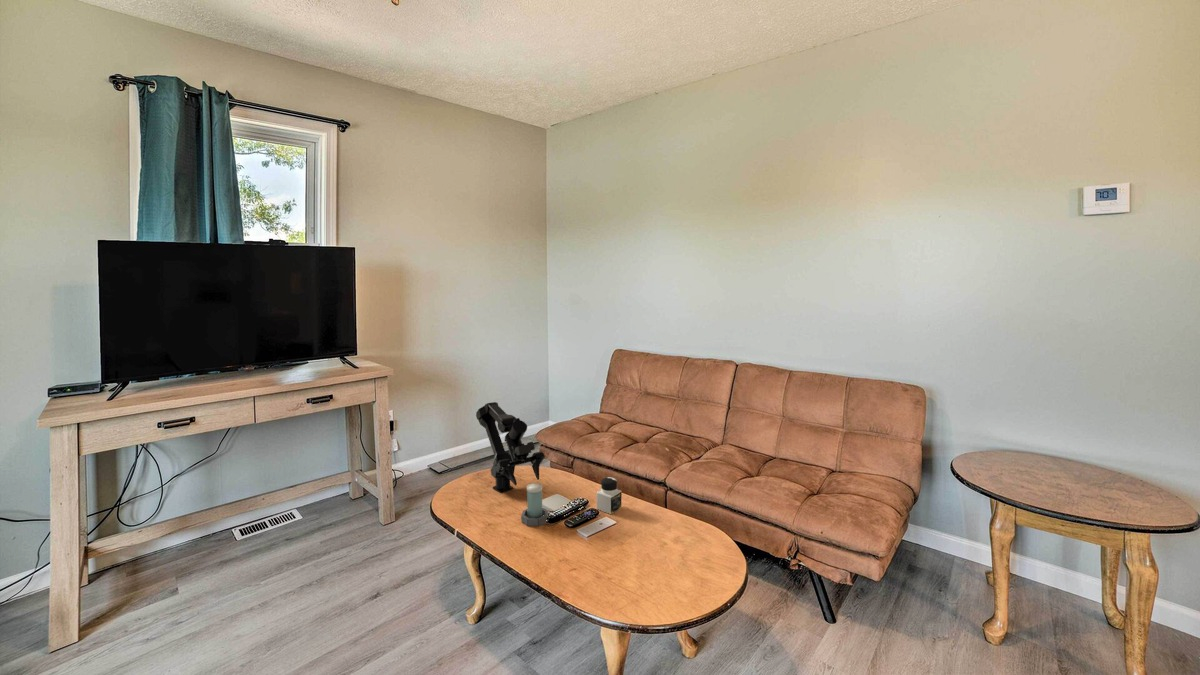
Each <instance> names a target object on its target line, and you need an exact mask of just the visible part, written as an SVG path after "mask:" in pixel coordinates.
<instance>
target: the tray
mask: <svg viewBox="0 0 1200 675" xmlns="http://www.w3.org/2000/svg"><path fill="white" fill-rule="evenodd" d="M570 501H572V500H570V499H568V498H567V497H565V496H562V495H561V494H559V493H556V494H553V495H551V496H548V497H546V498H542V508H544V509H546V510H548V512H550V511H555V510H556V509H557V508H559V507H561V506H563V505H566V504H568V503H569V502H570ZM582 508H584V506H582V507H581V508H579V509H578V510H581V509H582ZM573 512H574V511H573ZM566 515H567V514H566ZM564 516H565V515H564Z"/></svg>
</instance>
